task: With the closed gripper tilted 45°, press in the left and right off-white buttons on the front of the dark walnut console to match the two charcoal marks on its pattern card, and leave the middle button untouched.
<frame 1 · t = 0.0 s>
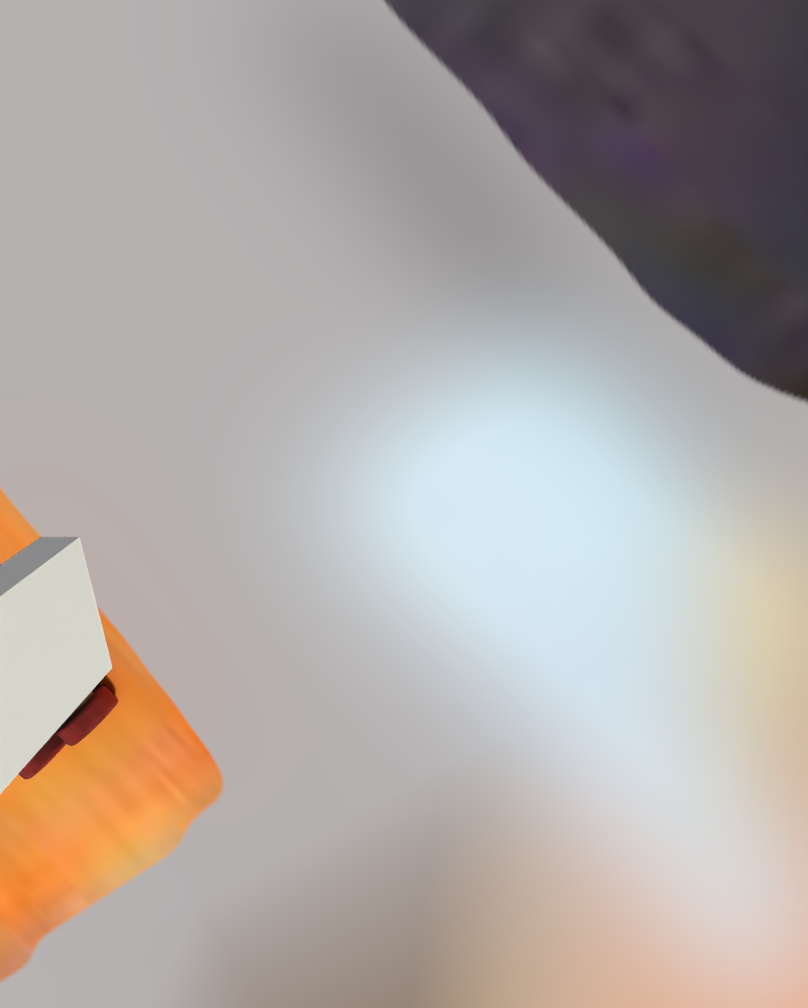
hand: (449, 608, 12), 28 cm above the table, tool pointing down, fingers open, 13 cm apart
red wheeled toy: (56, 685, 52), on the table
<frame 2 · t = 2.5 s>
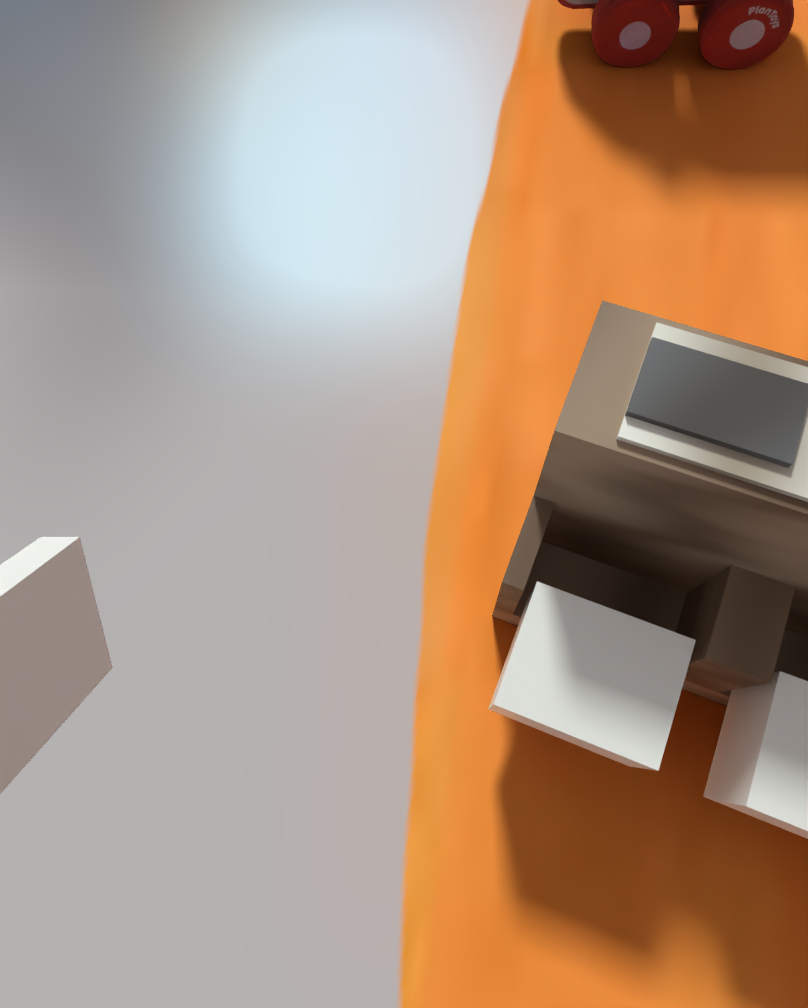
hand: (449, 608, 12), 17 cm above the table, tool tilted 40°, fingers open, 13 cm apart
red wheeled toy: (670, 24, 38), on the table
console: (794, 647, 28), on the table
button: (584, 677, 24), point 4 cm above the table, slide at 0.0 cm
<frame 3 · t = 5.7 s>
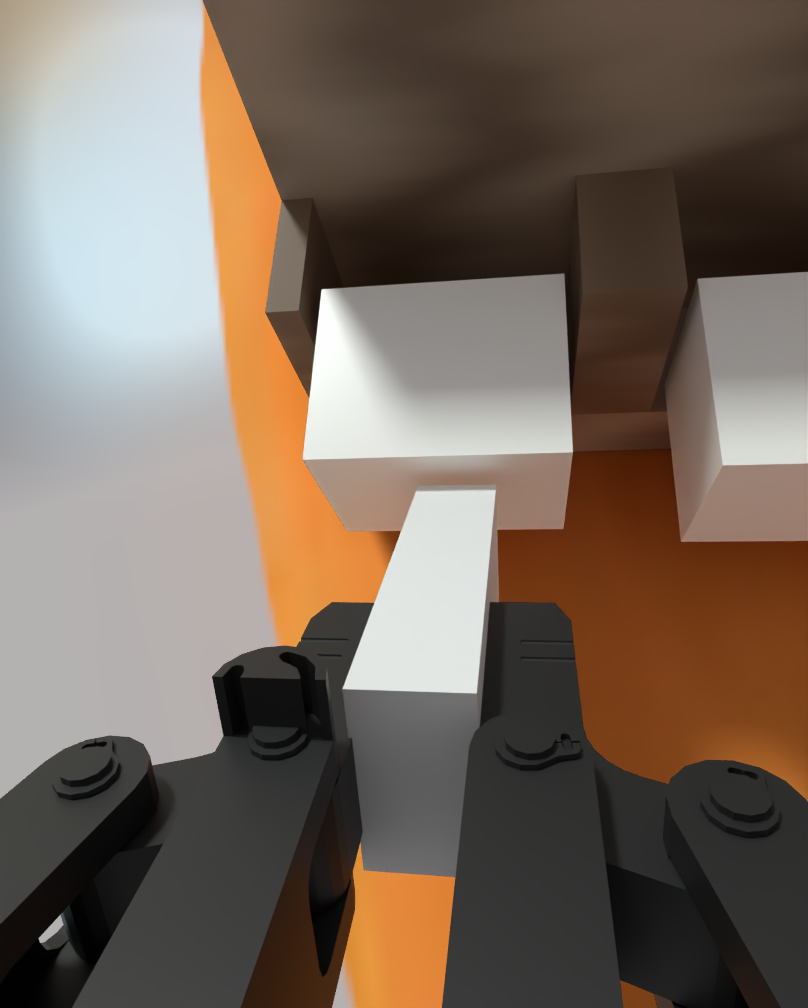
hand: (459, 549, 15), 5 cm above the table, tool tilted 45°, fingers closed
console: (735, 350, 20), on the table
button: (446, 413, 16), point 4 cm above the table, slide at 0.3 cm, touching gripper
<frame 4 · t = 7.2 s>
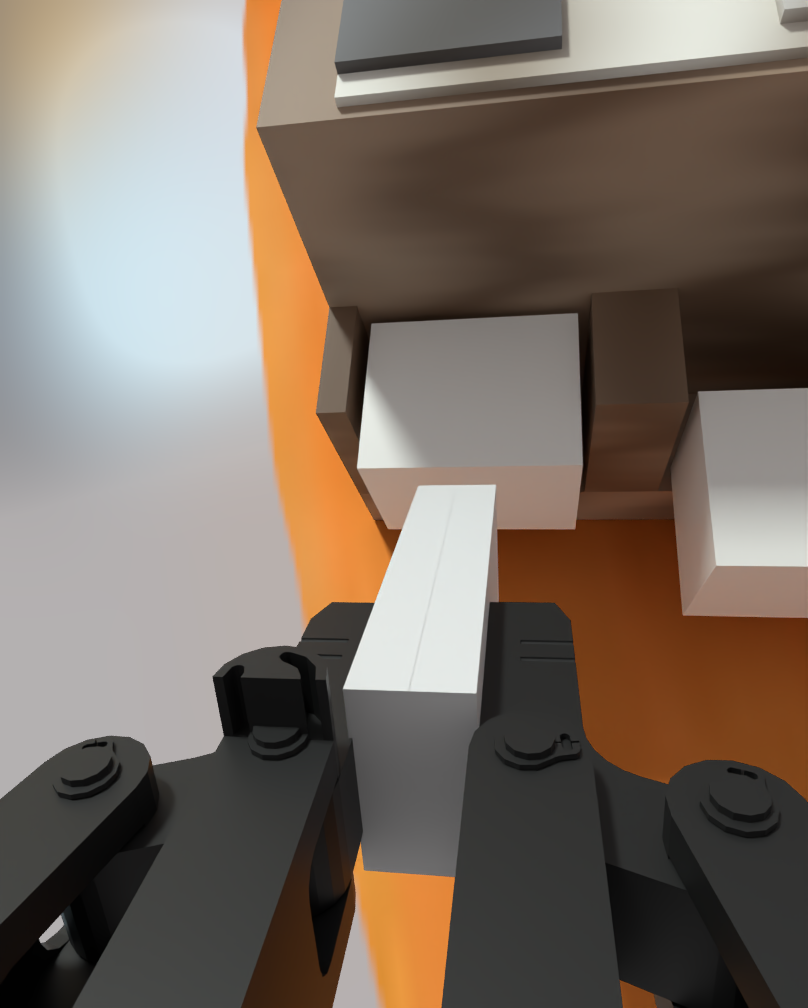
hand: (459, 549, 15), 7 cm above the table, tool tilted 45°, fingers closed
console: (738, 426, 22), on the table
middle button: (806, 509, 17), point 4 cm above the table, slide at 0.0 cm
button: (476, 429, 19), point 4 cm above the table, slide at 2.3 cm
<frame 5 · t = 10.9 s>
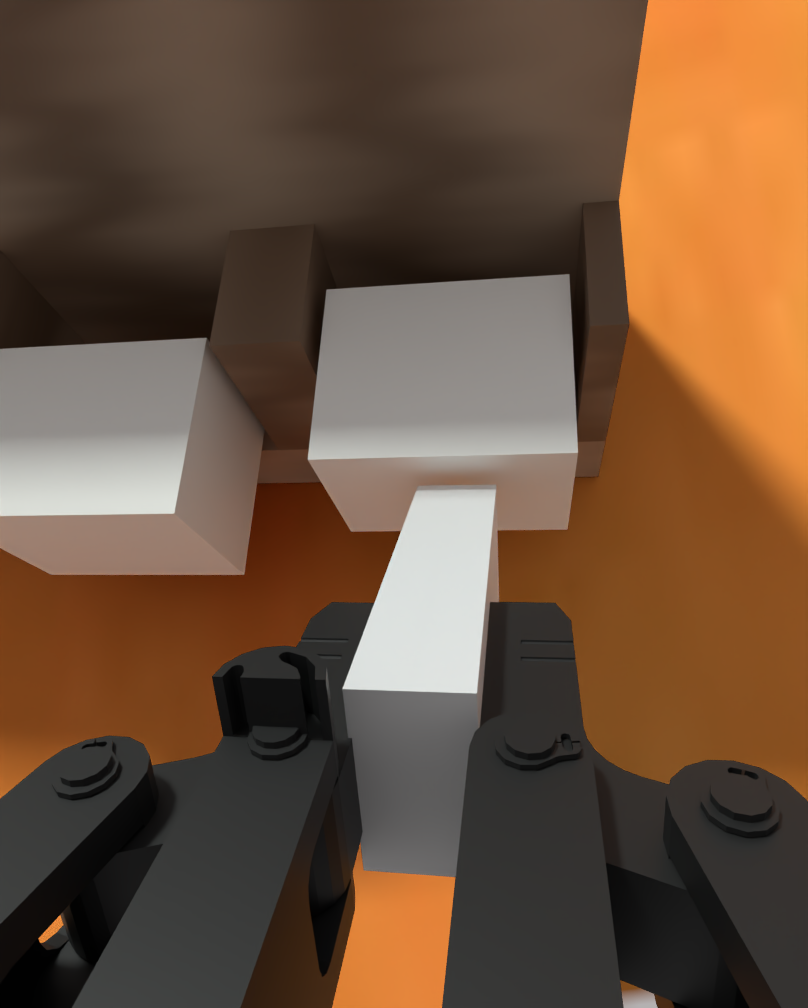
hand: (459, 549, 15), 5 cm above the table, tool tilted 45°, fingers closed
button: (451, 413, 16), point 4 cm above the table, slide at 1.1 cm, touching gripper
console: (222, 395, 22), on the table
middle button: (122, 465, 17), point 4 cm above the table, slide at 0.0 cm
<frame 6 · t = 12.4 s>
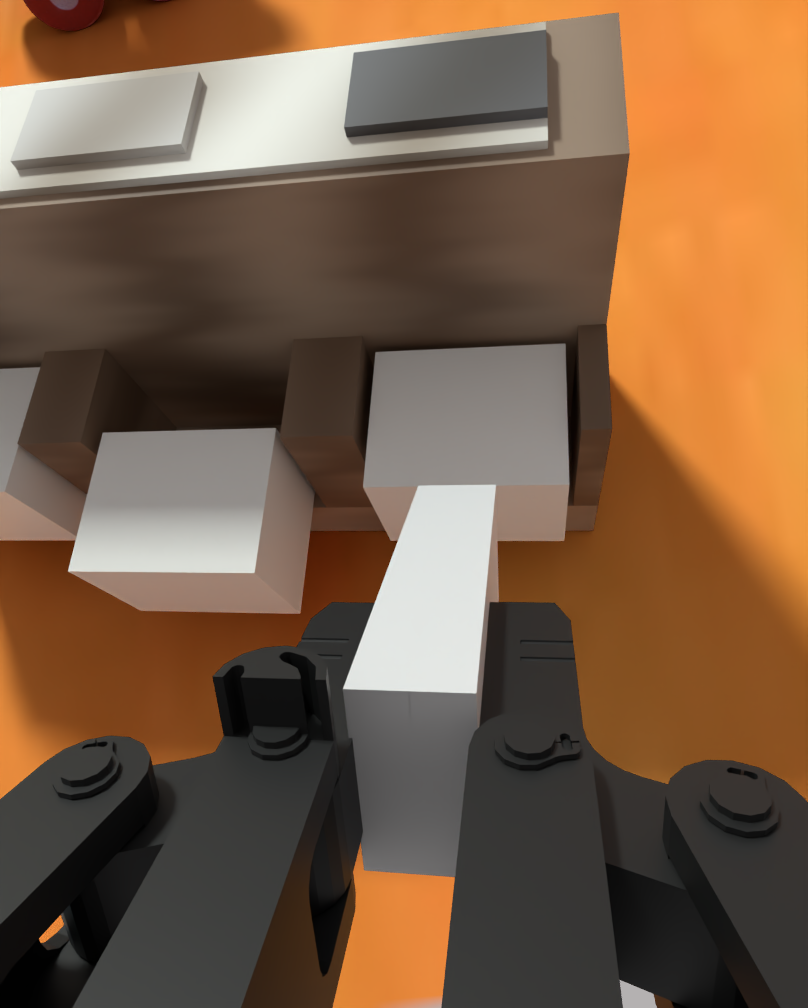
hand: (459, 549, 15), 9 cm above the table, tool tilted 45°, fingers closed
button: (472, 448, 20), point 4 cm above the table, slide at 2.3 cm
console: (274, 452, 26), on the table
middle button: (203, 525, 21), point 4 cm above the table, slide at 0.0 cm
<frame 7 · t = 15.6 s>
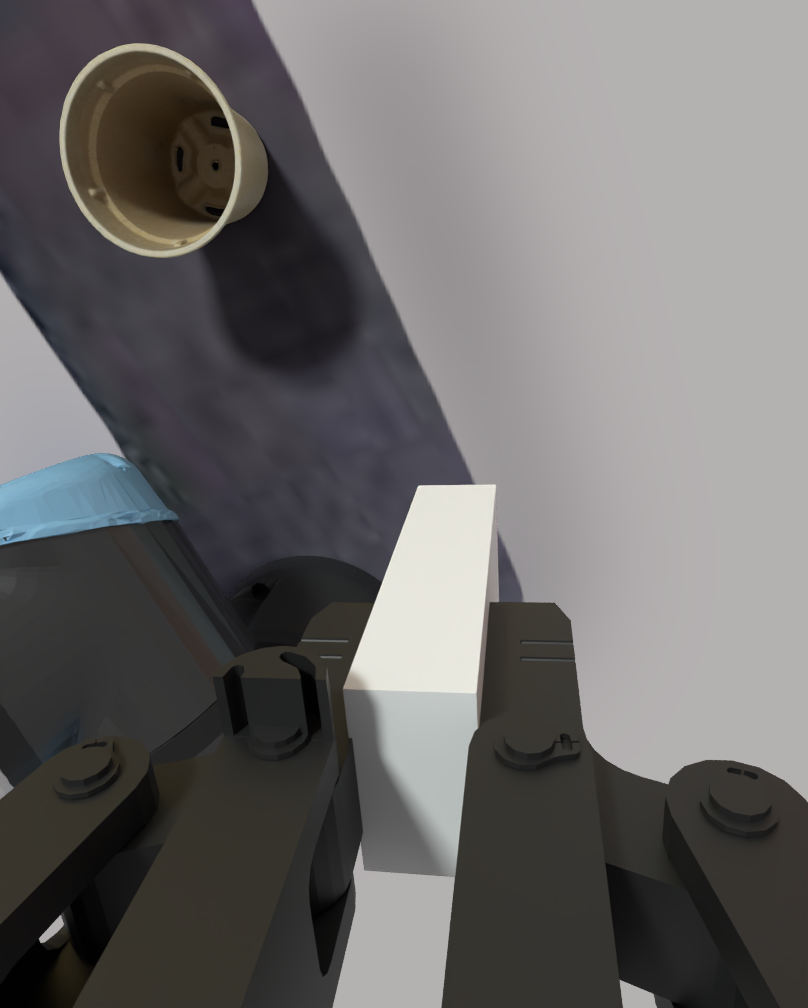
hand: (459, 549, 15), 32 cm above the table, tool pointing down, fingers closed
flower pot: (222, 166, 44), on the table
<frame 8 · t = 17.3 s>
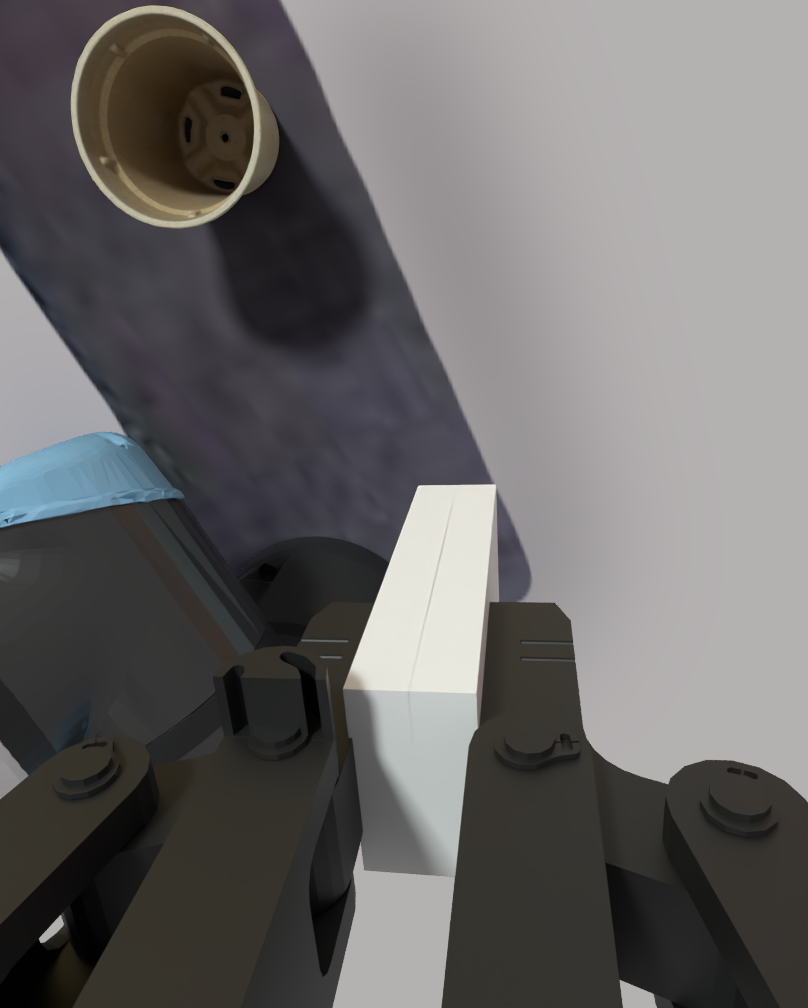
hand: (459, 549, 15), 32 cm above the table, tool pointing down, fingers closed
flower pot: (231, 138, 43), on the table
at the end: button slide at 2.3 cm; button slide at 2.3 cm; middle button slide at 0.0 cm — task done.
